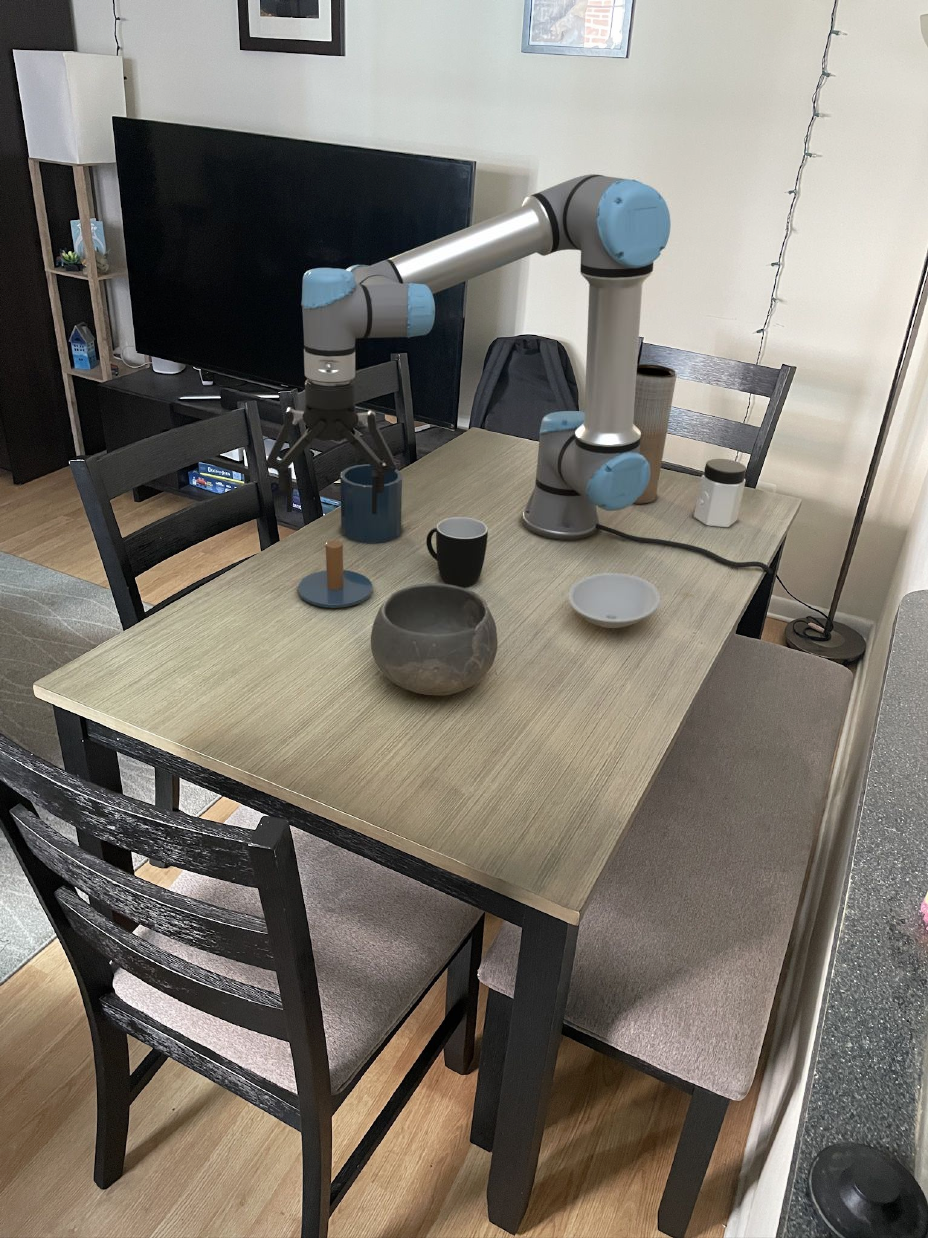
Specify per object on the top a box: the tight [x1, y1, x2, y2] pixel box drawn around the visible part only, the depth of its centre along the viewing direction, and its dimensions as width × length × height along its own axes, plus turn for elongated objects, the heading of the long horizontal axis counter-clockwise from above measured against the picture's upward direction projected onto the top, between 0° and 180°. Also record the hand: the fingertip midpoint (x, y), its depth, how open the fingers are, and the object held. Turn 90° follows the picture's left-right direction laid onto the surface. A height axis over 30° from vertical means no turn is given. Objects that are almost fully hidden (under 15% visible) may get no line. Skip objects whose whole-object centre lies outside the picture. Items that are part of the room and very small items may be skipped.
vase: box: [632, 363, 678, 505], centre depth 190 cm, size 10×10×28 cm
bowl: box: [370, 582, 499, 696], centre depth 127 cm, size 18×18×13 cm
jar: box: [693, 458, 747, 528], centre depth 185 cm, size 9×8×12 cm
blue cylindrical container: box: [339, 463, 403, 544], centre depth 172 cm, size 12×12×12 cm
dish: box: [567, 572, 661, 629], centre depth 147 cm, size 18×14×5 cm
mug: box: [425, 516, 489, 588], centre depth 157 cm, size 12×9×10 cm
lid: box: [297, 540, 373, 609], centre depth 150 cm, size 13×13×9 cm
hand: (332, 509), depth 145 cm, fingers open, 13 cm apart
